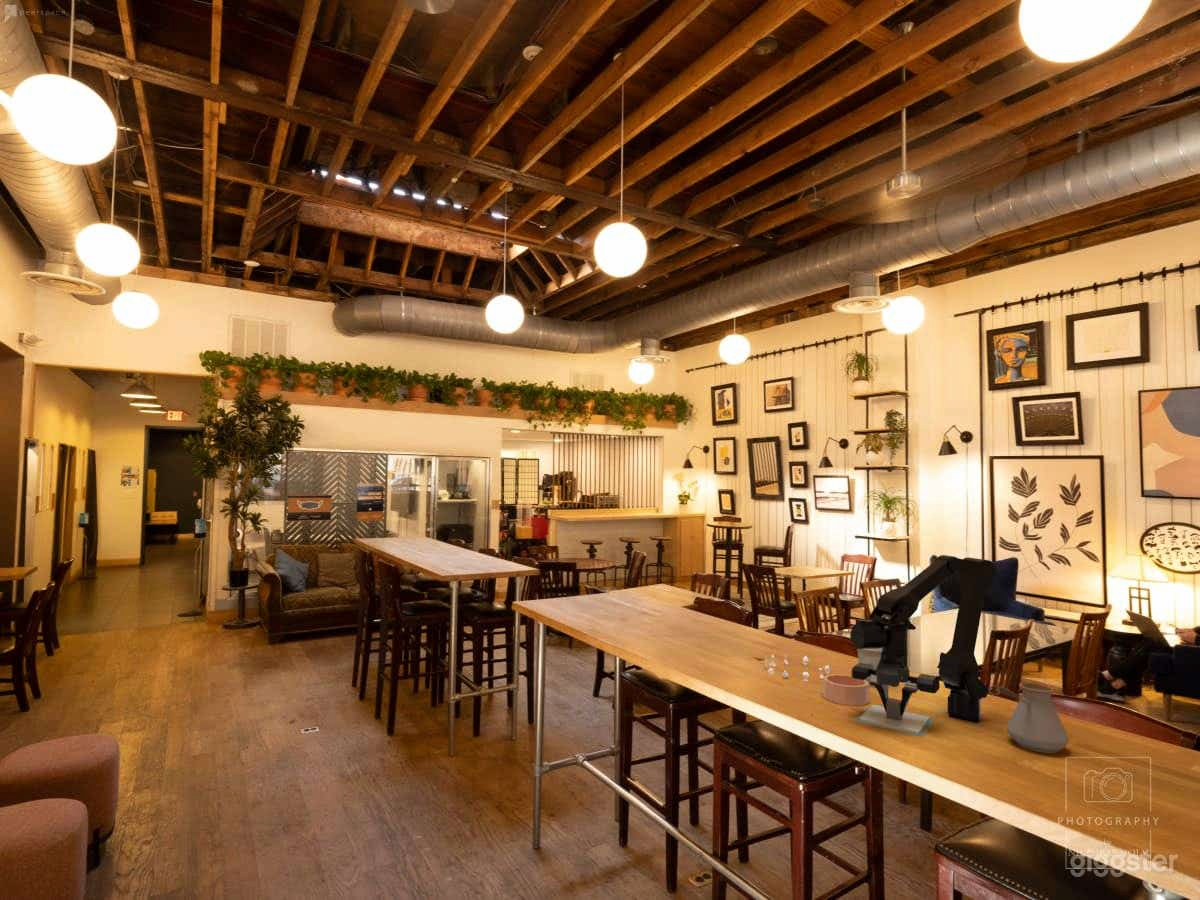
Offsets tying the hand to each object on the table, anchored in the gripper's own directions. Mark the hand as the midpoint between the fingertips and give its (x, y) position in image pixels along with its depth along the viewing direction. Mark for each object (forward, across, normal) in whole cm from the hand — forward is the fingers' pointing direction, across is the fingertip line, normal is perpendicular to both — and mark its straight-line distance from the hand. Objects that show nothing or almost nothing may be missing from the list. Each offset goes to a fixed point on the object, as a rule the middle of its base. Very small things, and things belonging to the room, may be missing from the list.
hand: (894, 713), depth 155 cm
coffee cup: (+2, -13, +31) cm, 34 cm away
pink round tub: (+2, -14, +9) cm, 17 cm away
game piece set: (+3, -34, +27) cm, 43 cm away
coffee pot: (+2, +26, +1) cm, 26 cm away
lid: (+2, 0, 0) cm, 2 cm away
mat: (+2, 0, 0) cm, 2 cm away
